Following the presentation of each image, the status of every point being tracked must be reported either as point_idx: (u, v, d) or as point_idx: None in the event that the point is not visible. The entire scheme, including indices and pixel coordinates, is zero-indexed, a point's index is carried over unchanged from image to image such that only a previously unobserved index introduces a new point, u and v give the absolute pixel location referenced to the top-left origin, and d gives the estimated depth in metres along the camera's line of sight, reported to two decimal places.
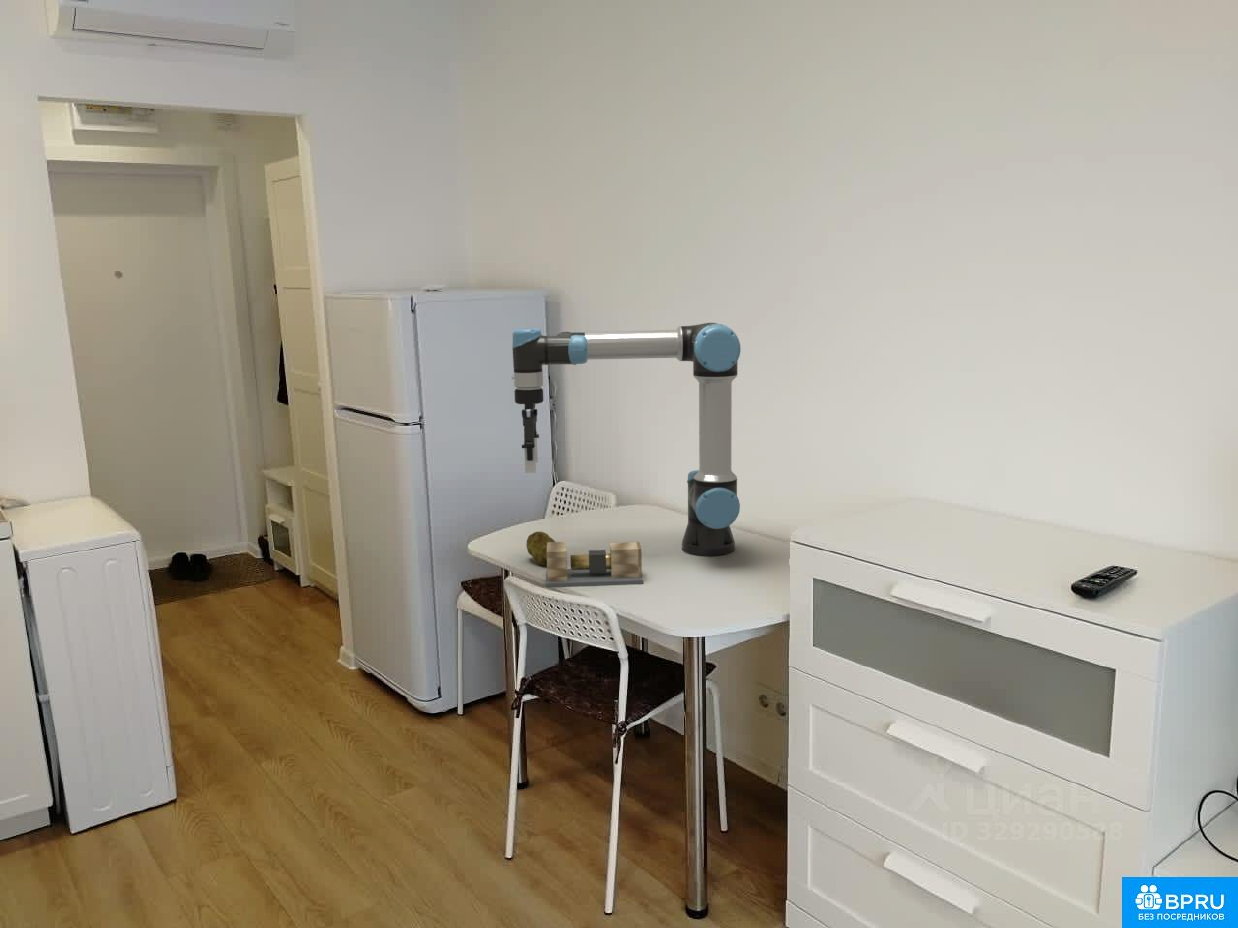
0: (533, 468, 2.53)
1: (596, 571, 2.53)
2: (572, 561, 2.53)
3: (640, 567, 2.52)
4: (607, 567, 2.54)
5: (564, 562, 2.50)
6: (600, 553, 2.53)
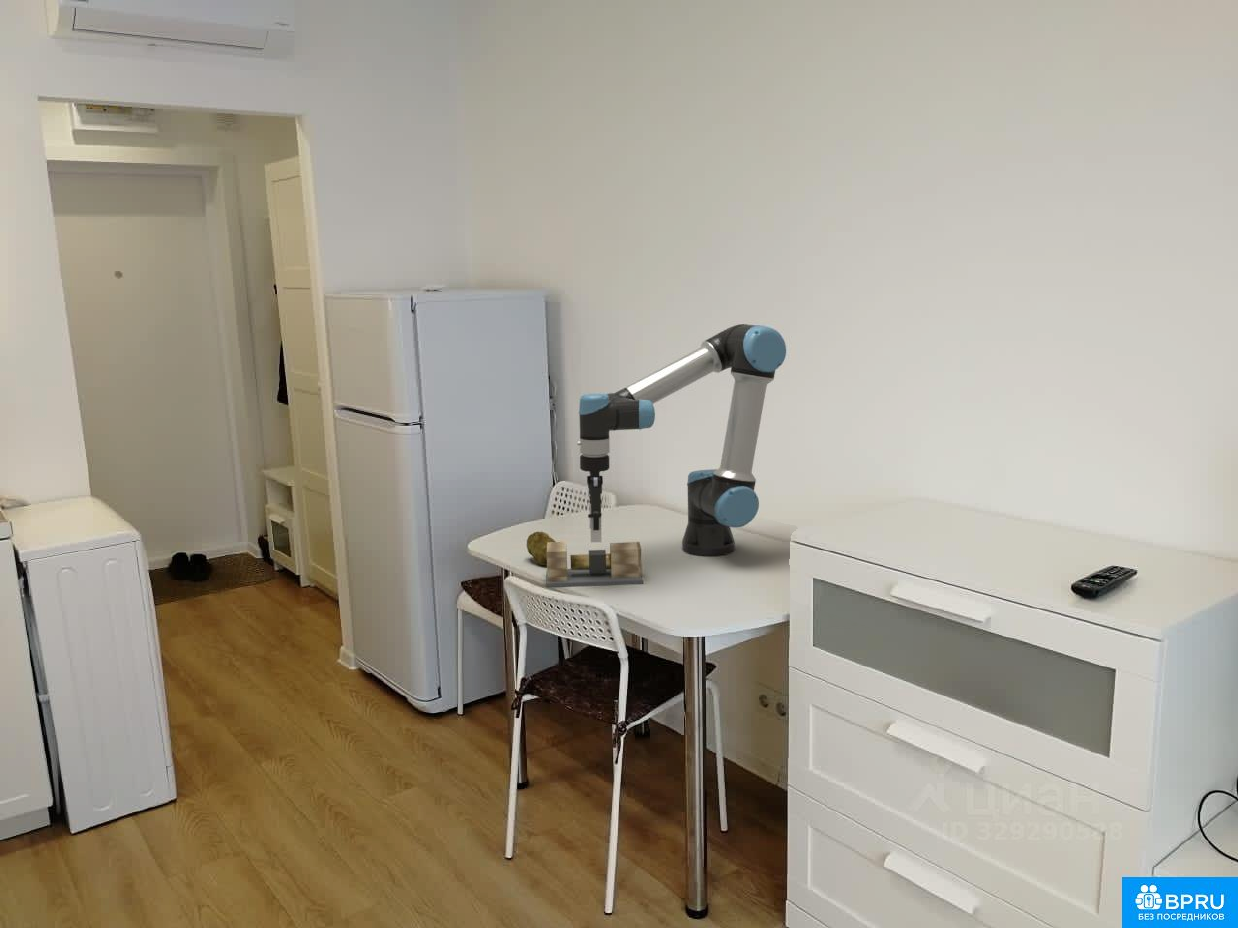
0: (599, 538, 2.46)
1: (596, 571, 2.53)
2: (572, 561, 2.53)
3: (640, 567, 2.52)
4: (607, 567, 2.54)
5: (564, 562, 2.50)
6: (600, 553, 2.53)
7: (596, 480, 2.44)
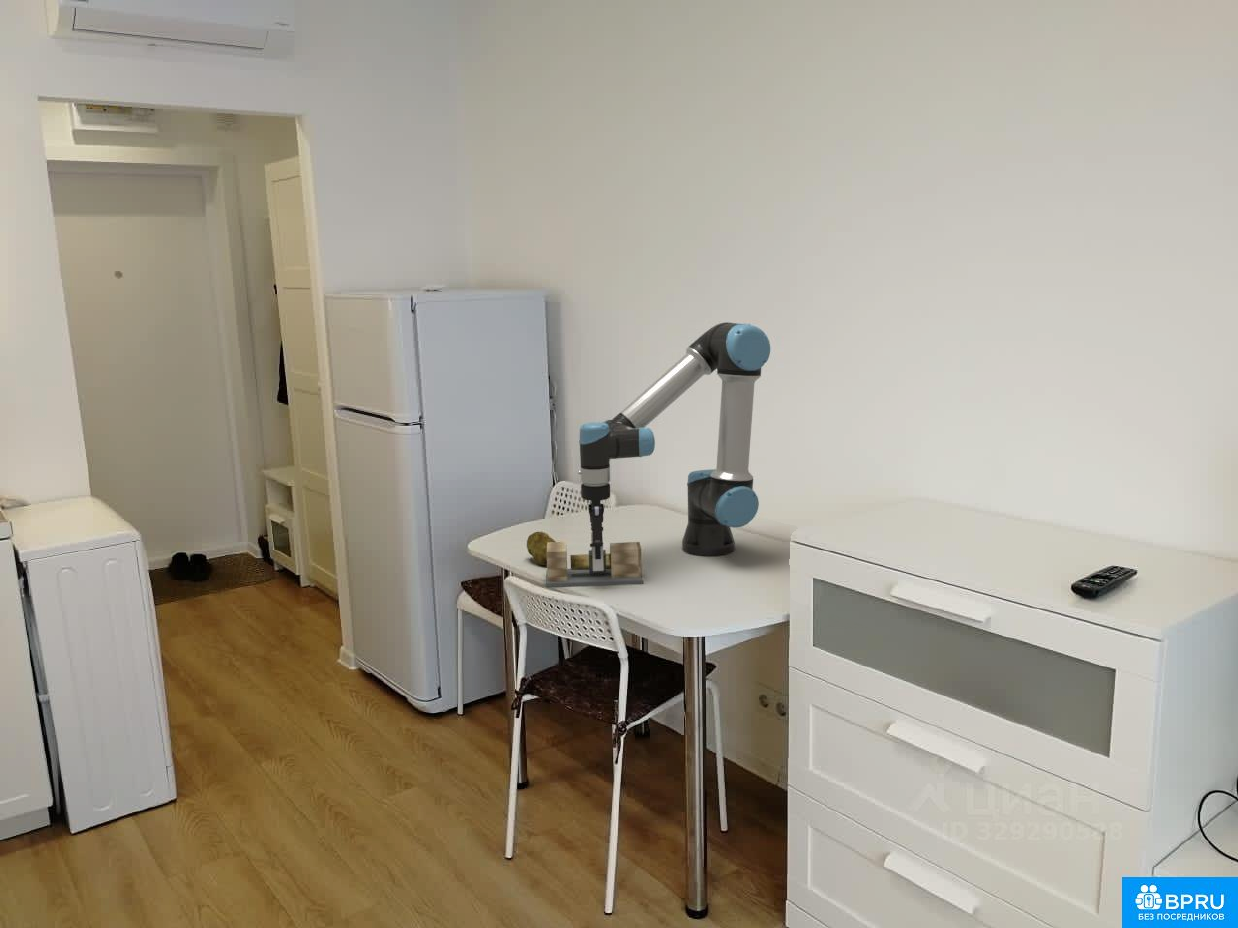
0: (601, 566, 2.48)
1: (596, 571, 2.53)
2: (572, 561, 2.53)
3: (640, 567, 2.52)
4: (607, 567, 2.54)
5: (564, 562, 2.50)
6: None
7: (597, 509, 2.45)
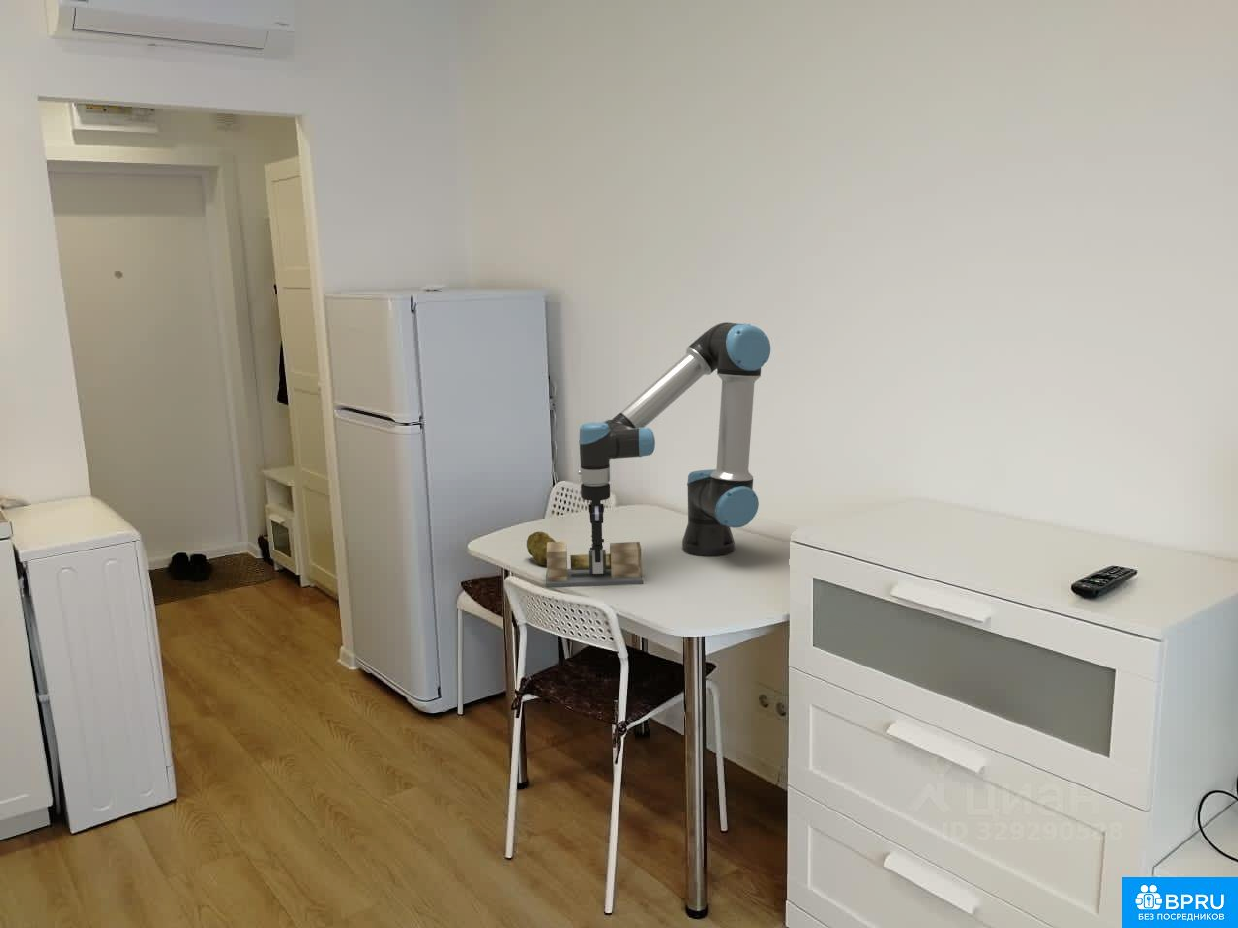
0: (600, 569, 2.52)
1: None
2: (572, 561, 2.53)
3: (640, 567, 2.52)
4: (607, 567, 2.54)
5: (564, 562, 2.50)
6: None
7: (597, 516, 2.46)
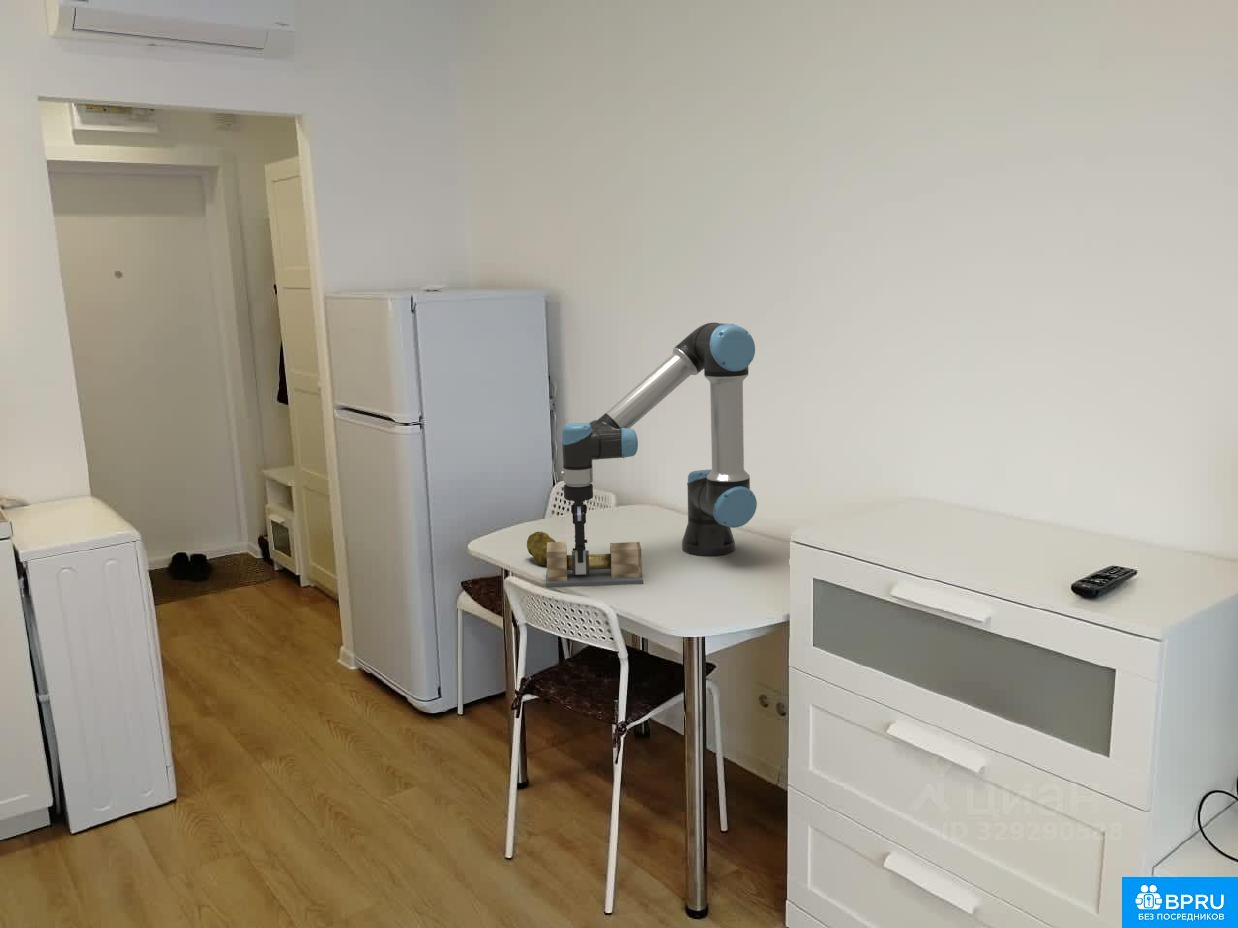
0: (583, 570, 2.52)
1: None
2: None
3: (640, 567, 2.52)
4: (590, 568, 2.53)
5: (564, 562, 2.50)
6: None
7: (580, 516, 2.45)
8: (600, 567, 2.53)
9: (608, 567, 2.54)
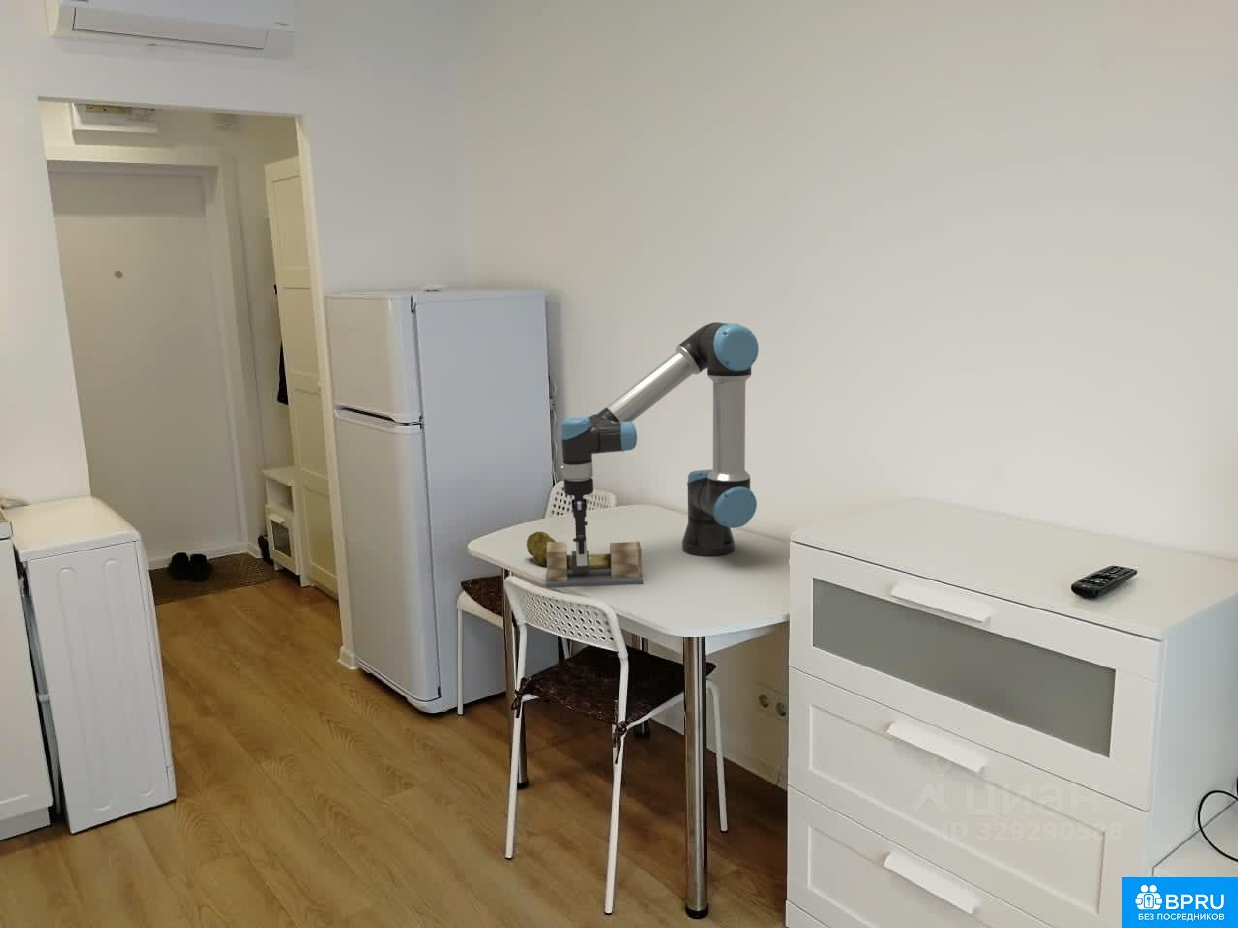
0: (585, 561, 2.47)
1: (579, 572, 2.53)
2: None
3: (640, 567, 2.52)
4: (590, 568, 2.53)
5: (564, 562, 2.50)
6: None
7: (580, 504, 2.45)
8: (600, 567, 2.53)
9: (608, 567, 2.54)
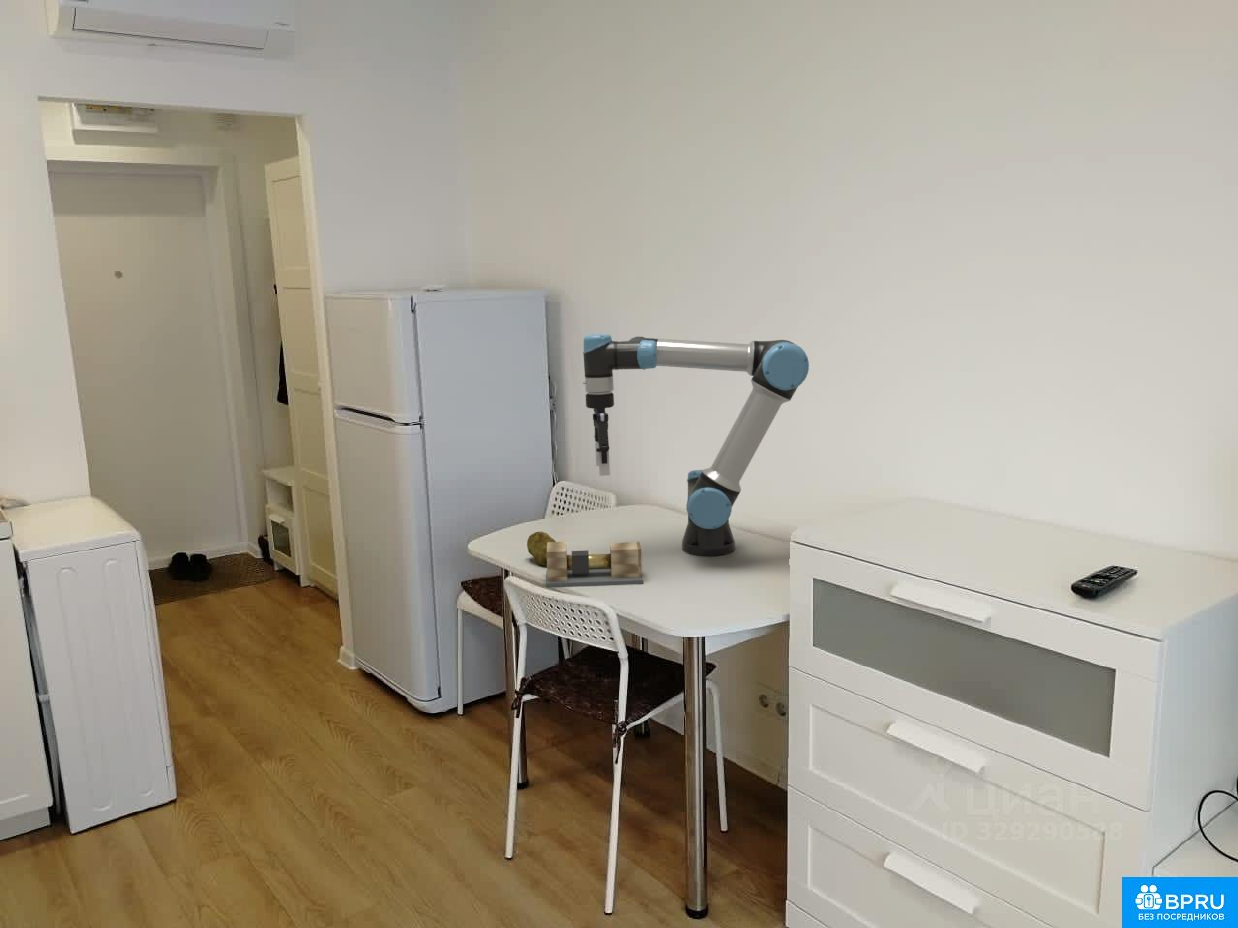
0: (607, 471, 2.58)
1: (579, 572, 2.53)
2: None
3: (640, 567, 2.52)
4: (590, 568, 2.53)
5: (564, 562, 2.50)
6: (583, 554, 2.53)
7: (602, 415, 2.55)
8: (600, 567, 2.53)
9: (608, 567, 2.54)
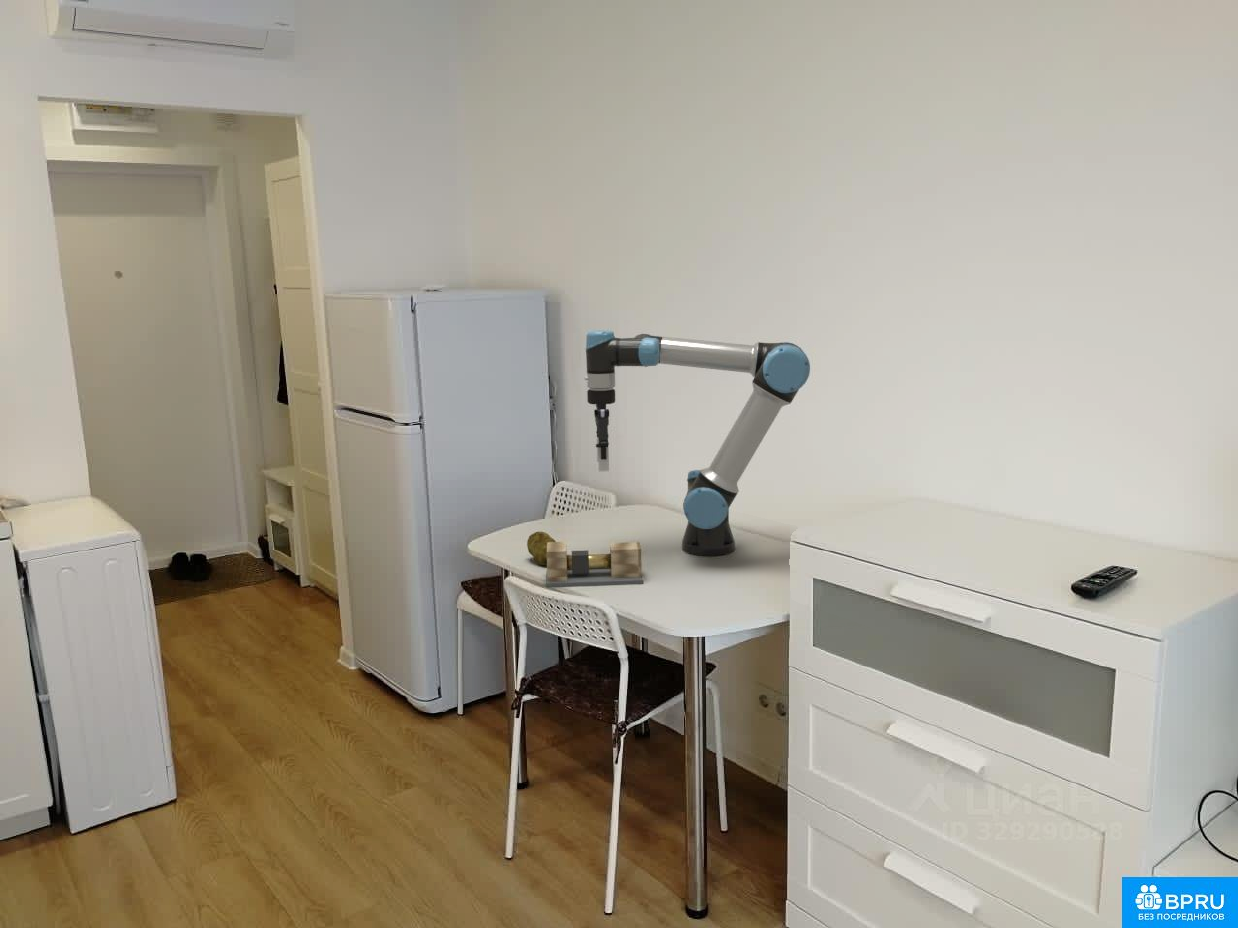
0: (606, 467, 2.59)
1: (579, 572, 2.53)
2: None
3: (640, 567, 2.52)
4: (590, 568, 2.53)
5: (564, 562, 2.50)
6: (583, 554, 2.53)
7: (603, 411, 2.57)
8: (600, 567, 2.53)
9: (608, 567, 2.54)
